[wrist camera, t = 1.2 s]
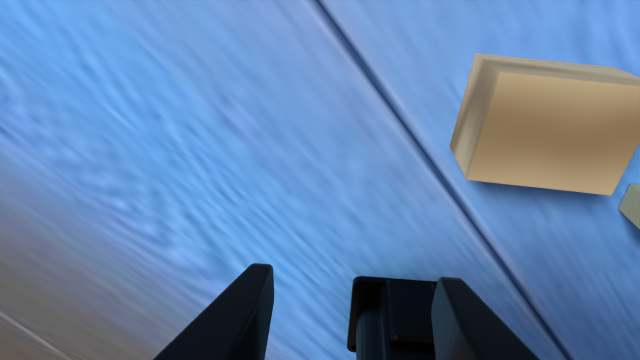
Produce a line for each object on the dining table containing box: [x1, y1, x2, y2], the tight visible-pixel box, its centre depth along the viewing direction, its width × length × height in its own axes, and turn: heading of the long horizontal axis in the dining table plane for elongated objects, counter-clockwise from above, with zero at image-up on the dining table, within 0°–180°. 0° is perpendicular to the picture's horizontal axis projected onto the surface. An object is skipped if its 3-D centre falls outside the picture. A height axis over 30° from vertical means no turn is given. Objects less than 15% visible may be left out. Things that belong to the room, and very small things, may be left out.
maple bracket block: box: [450, 53, 640, 195], centre depth 17 cm, size 4×6×4 cm
